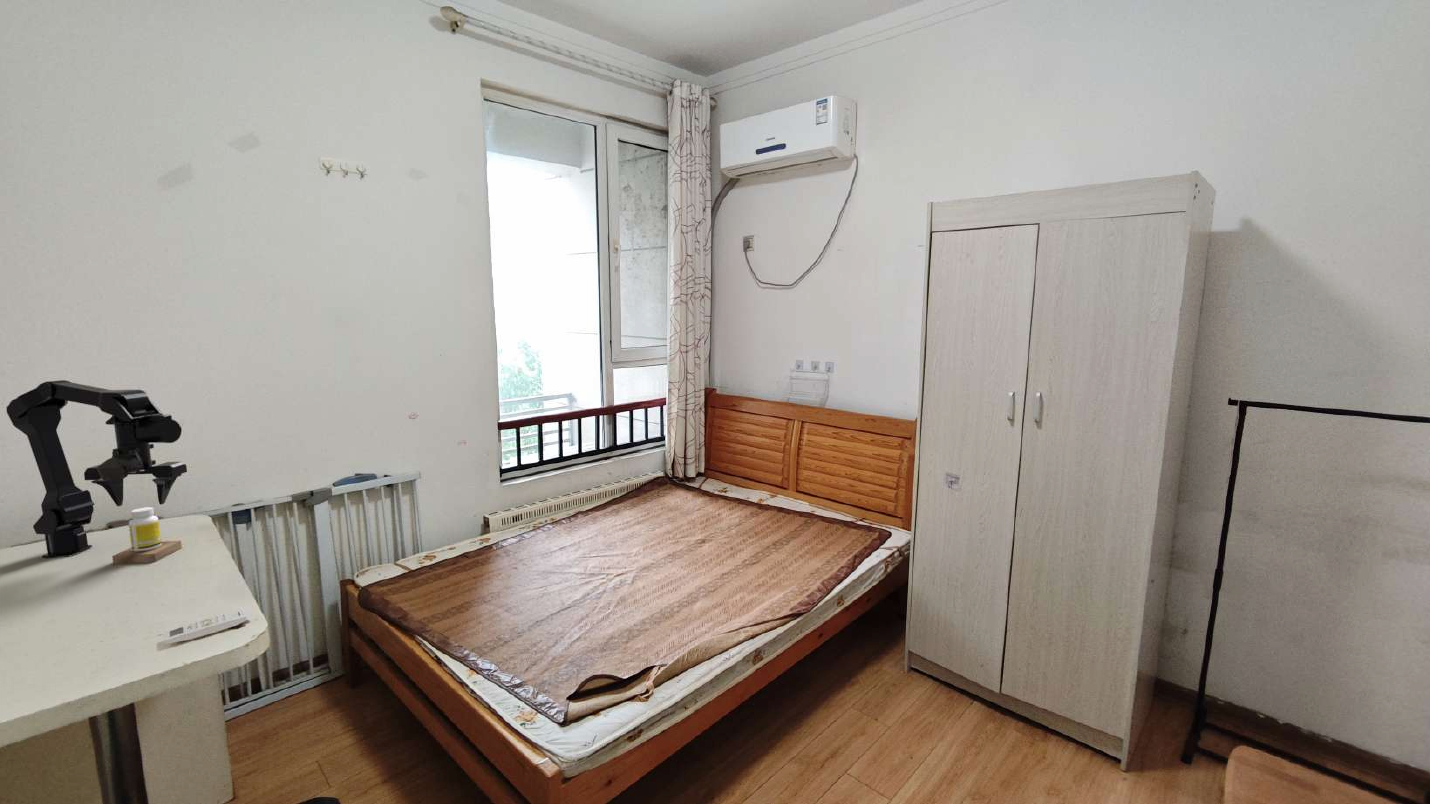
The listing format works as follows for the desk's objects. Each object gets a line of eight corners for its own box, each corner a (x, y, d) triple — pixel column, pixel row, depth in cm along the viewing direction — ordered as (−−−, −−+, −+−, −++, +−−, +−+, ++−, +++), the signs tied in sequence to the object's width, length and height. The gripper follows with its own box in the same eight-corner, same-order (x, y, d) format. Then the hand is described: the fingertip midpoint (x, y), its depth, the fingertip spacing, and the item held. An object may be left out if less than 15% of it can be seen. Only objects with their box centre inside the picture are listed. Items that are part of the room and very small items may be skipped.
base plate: (113, 564, 147) (112, 556, 147) (141, 550, 156) (140, 542, 156) (155, 561, 148) (154, 553, 148) (181, 548, 157) (180, 540, 157)
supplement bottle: (167, 544, 154) (163, 506, 153) (146, 552, 149) (140, 513, 148) (148, 543, 155) (143, 506, 153) (125, 551, 149) (120, 512, 148)
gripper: (58, 450, 140) (68, 517, 142) (151, 448, 143) (159, 513, 145) (99, 441, 151) (108, 503, 153) (184, 438, 153) (191, 499, 156)
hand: (141, 505), depth 151 cm, fingers open, 9 cm apart
